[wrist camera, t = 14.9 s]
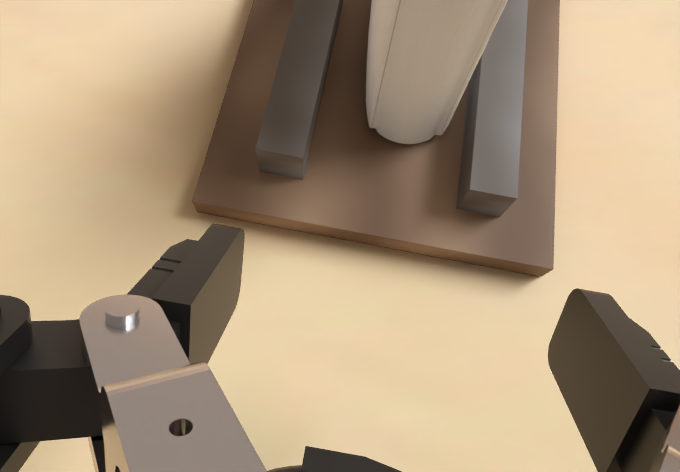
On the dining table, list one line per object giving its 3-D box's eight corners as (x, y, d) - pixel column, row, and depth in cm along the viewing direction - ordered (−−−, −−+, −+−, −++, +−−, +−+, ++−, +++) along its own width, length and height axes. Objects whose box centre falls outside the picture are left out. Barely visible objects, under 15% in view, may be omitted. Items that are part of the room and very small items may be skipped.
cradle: (551, -41, 30) (578, -91, 27) (541, 276, 23) (576, 254, 20) (288, -91, 30) (287, -147, 27) (197, 211, 23) (182, 180, 20)
